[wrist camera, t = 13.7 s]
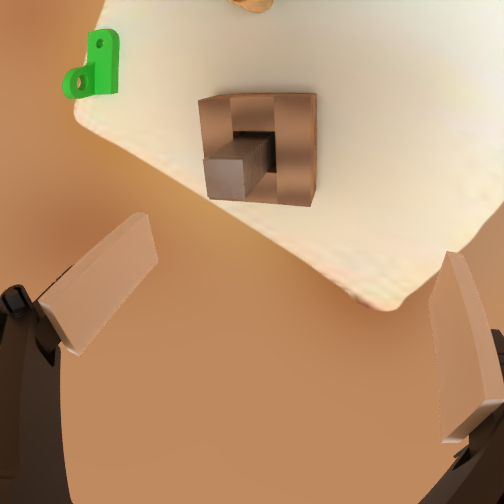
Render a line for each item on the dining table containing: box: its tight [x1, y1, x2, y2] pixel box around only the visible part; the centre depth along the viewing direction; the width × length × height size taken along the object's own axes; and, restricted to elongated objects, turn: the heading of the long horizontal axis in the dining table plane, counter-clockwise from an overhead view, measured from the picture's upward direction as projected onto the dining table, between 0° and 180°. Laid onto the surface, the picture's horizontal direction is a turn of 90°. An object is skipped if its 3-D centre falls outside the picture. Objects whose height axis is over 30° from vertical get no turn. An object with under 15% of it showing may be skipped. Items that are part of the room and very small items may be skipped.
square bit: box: [203, 131, 276, 199], centre depth 35 cm, size 4×4×15 cm
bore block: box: [198, 93, 317, 207], centre depth 39 cm, size 14×14×6 cm
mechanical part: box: [62, 29, 119, 99], centre depth 37 cm, size 12×6×8 cm, turn 174°
